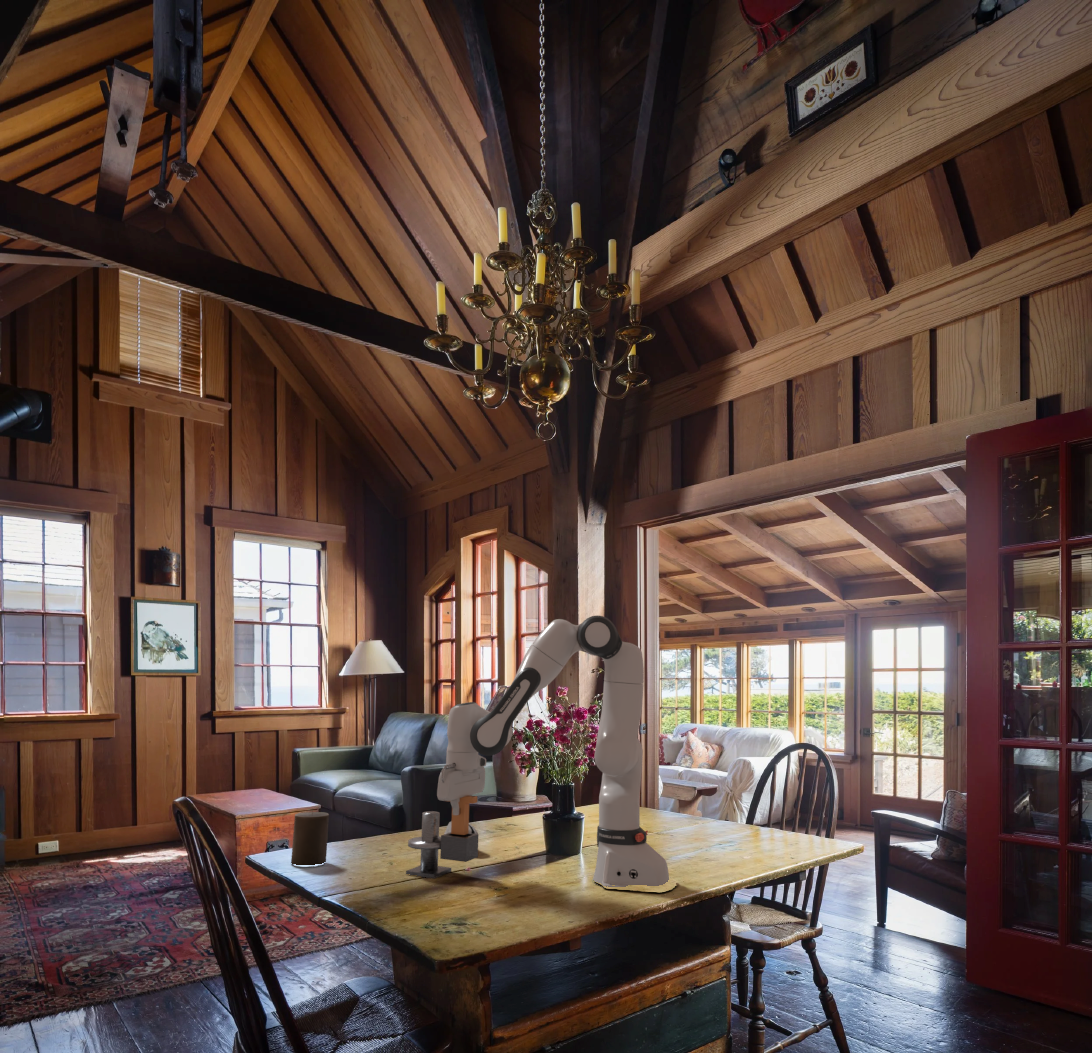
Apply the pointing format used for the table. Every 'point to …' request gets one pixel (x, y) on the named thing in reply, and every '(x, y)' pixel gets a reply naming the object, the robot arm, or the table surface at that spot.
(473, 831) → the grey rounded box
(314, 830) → the pillar candle
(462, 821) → the orange t-shaped block
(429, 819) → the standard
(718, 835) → the table surface
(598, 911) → the table surface
